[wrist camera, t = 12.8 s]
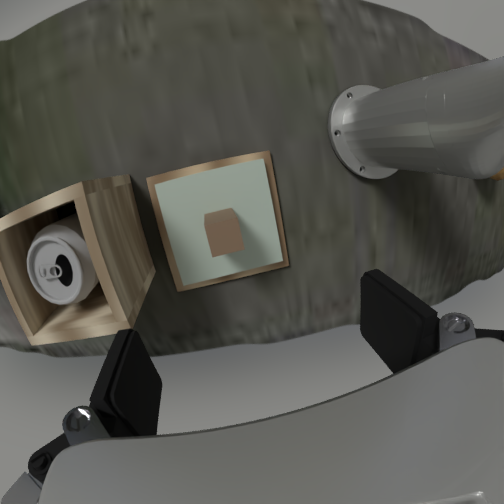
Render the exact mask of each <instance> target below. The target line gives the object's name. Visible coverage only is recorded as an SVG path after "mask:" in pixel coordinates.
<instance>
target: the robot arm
mask: <svg viewBox="0 0 504 504" xmlns="http://www.w3.org/2000/svg"><path fill="white" fill-rule="evenodd" d="M347 96H348V97H347ZM328 132H329V138H330V141H331V144H332V147H333V149H334V151H335V153H336V155H337V156H338V158H339V159H340V161H341V162H342V163H343V164H344V165H345V166H346V167H347V168H348V169H349V170H350V171H352V172H353V173H355V174H357V175H359V176H361V177H365V178H369V179H382V178H386V177H389V176H391V175H392V174H394V173H395V172H397V171H398V169H402V170H411V171H420V172H428V173H436V174H443V175H450V176H456V177H463V178H469V179H485V178H489V177H492V176H493V175H495V174H497V173H498V172H499V171H500V170H501V169H502V168H503V167H504V56H503V57H500V58H496V59H493V60H489V61H486V62H483V63H479V64H474V65H470V66H466V67H462V68H458V69H454V70H449V71H445V72H441V73H438V74H434V75H430V76H426V77H422V78H418V79H415V80H411V81H408V82H404V83H401V84H398V85H394V86H391V87H388V88H385V89H382V90H381V89H379V88H376V87H374V86H369V85H357V86H354V87H351V88H349V89H347V90H345V91H343V92H342V93H341V94H340V95H338V97H337V98H336V99H335V101H334V102H333V104H332V106H331V109H330V112H329V117H328ZM334 133H336V136H335V134H334ZM437 313H438V312H436V311H435V310H434V309H432V308H431V307H430V306H428V305H427V304H426V303H424V302H423V301H422V300H420V299H419V298H418V297H416V296H415V295H414V294H412V293H411V292H409V291H408V290H407V289H405V288H404V287H403V286H401V285H400V284H398V283H397V282H396V281H394V280H393V279H391V278H390V277H388V276H387V275H386V274H384V273H383V272H381V271H380V270H378V269H374V270H371V271H368V272H365V273H364V275H363V277H361V320H360V330H361V334H362V336H363V337H364V338H365V340H366V341H367V342H368V343H369V344H370V346H371V347H372V348H373V349H374V350H375V352H376V353H377V354H378V355H379V356H380V358H381V359H382V360H383V361H384V363H386V365H387V366H388V367H389V369H390V370H391V371H392V372H393V374H392V375H390V376H388V377H385V378H383V379H381V380H379V381H376V382H374V383H372V384H369V385H367V386H364V387H362V388H360V389H357V390H354V391H352V392H349V393H346V394H343V395H341V396H338V397H335V398H333V399H329V400H327V401H324V402H321V403H317V404H314V405H311V406H308V407H305V408H301V409H298V410H294V411H291V412H287V413H284V414H280V415H276V416H272V417H268V418H264V419H259V420H256V421H251V422H246V423H241V424H236V425H230V426H225V427H219V428H214V429H207V430H200V431H192V432H183V433H174V434H164V435H157V424H158V416H159V407H160V399H161V391H162V381H161V378H160V376H159V374H158V372H157V370H156V368H155V367H154V364H153V363H152V361H151V359H150V357H149V355H148V352H147V350H146V348H145V346H144V344H143V342H142V340H141V338H140V336H139V334H138V332H137V331H134V330H133V329H131V328H129V329H123V330H118V332H117V334H116V336H115V338H114V341H113V343H112V345H111V347H110V350H109V352H108V354H107V357H106V359H105V361H104V364H103V366H102V369H101V371H100V374H99V376H98V379H97V381H96V384H95V386H94V389H93V392H92V394H91V397H90V401H91V403H90V405H89V407H88V406H78V407H76V408H73V409H72V410H70V411H69V412H68V413H67V414H66V415H65V417H64V419H63V423H62V426H63V430H64V433H63V434H62V435H60V436H59V437H57V438H56V439H54V440H53V441H51V442H50V443H48V444H47V445H45V446H43V447H42V448H40V449H39V450H38V451H36V452H35V453H34V454H33V455H32V456H31V457H30V459H29V462H28V469H29V473H26V472H24V473H23V474H22V475H21V477H20V478H19V479H18V480H17V481H16V482H15V483H14V484H13V486H12V487H11V488H10V489H9V490H8V491H7V493H6V494H5V495H4V496H3V498H2V502H1V504H504V330H489V329H475V328H474V324H473V322H472V320H471V319H470V318H469V317H467V316H466V315H464V314H461V313H449V314H446V315H444V316H443V317H442V318H441V319H439V318H438V317H437Z"/></svg>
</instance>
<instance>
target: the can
mask: <svg viewBox="0 0 504 504" xmlns="http://www.w3.org/2000/svg"><path fill="white" fill-rule="evenodd" d="M27 271H28V274H29V277H30V280H31V282H32V284H33V286H34V287H35V289H36V290H37V292H38V293H39V294H40V295H41V296H42V297H43V298H45V299H46V300H48V301H50V302H51V303H55V304H58V305H64V304H71V303H78V302H80V301H81V300H83V299H85V298H86V297H87V296H88V294H89V293H90V292H91V291H92V289H93V288H94V287H95V286H96V284H97V283H98V282H99V279H98V276H97V273H96V271H95V268H94V265H93V262H92V259H91V256H90V253H89V250H88V247H87V244H86V241H85V238H84V235H83V231H82V228H81V225H80V221H79V217H78V214H77V213H75V214H72V215H70V216H68V217H66V218H63V219H61V220H59V221H57V222H55V223H52V224H50V225H48V226H46V227H44V228H43V229H42V230H41V231H39V232H38V233H37V235H36V236H35V238H34V240H33V241H32V245H31V247H30V249H29V251H28V256H27Z"/></svg>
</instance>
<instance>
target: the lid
mask: <svg viewBox="0 0 504 504" xmlns="http://www.w3.org/2000/svg"><path fill="white" fill-rule="evenodd" d="M155 189H156V193H157V197H158V201H159V205H160V208H161V212H162V216H163V219H164V223H165V227H166V230H167V234H168V237H169V241H170V244H171V247H172V251H173V254H174V257H175V260H176V264H177V267H178V270H179V273H180V276H181V279H182V282H183V286H185V285H189V284H193V283H197V282H201V281H205V280H209V279H214V278H218V277H222V276H226V275H230V274H234V273H238V272H241V271H245V270H249V269H253V268H257V267H261V266H265V265H269V264H273V263H277V262H281V261H283V258H282V253H281V247H280V241H279V236H278V230H277V225H276V220H275V214H274V209H273V204H272V199H271V194H270V188H269V183H268V178H267V173H266V168H265V164H264V159H258V160H253V161H248V162H243V163H238V164H234V165H229V166H225V167H220V168H216V169H212V170H208V171H204V172H200V173H196V174H192V175H188V176H184V177H180V178H177V179H173V180H169V181H166V182H162V183H159V184H155Z"/></svg>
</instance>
